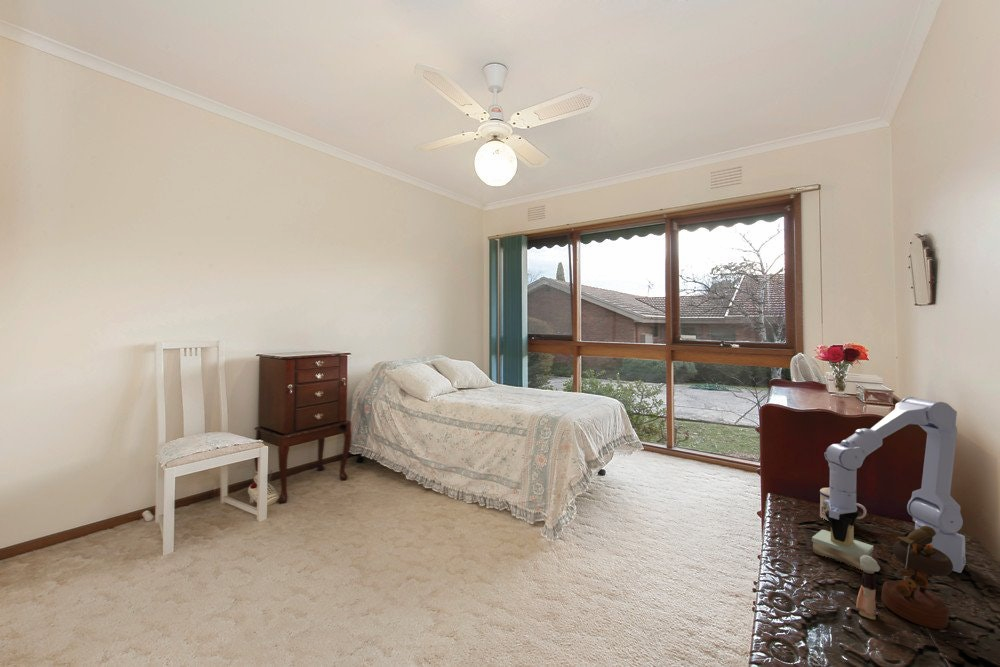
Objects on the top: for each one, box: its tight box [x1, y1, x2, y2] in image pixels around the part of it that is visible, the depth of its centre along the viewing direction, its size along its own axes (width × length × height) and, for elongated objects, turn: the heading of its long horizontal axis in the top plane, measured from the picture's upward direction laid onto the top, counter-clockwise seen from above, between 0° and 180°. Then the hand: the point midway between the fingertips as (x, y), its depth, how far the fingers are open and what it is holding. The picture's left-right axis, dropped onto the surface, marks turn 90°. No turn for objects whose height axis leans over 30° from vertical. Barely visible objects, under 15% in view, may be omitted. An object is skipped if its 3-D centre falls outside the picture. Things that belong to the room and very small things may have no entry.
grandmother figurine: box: [855, 555, 881, 620], centre depth 91 cm, size 8×4×13 cm, turn 141°
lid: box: [811, 525, 874, 558], centre depth 114 cm, size 11×8×6 cm
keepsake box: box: [812, 541, 873, 571], centre depth 114 cm, size 11×8×3 cm
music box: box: [880, 526, 953, 630], centre depth 92 cm, size 15×11×20 cm
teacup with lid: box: [819, 486, 867, 522], centre depth 136 cm, size 12×9×12 cm
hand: (842, 537), depth 114 cm, fingers closed on lid, 4 cm apart
